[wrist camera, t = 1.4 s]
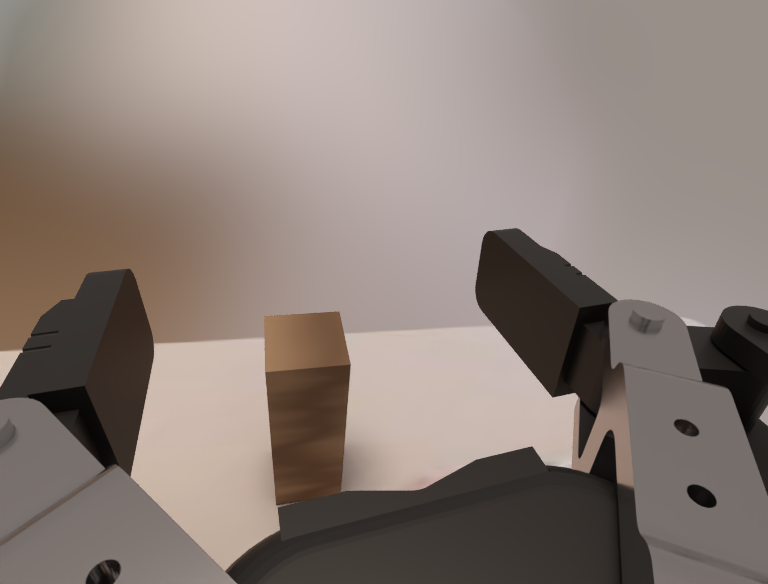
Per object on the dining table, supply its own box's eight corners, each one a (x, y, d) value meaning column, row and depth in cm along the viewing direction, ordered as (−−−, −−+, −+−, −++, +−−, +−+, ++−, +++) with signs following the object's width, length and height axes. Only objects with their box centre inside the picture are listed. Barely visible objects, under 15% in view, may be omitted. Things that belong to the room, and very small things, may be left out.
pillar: (276, 504, 29) (265, 372, 21) (274, 449, 32) (264, 316, 25) (340, 495, 30) (350, 364, 22) (332, 441, 33) (339, 311, 25)
